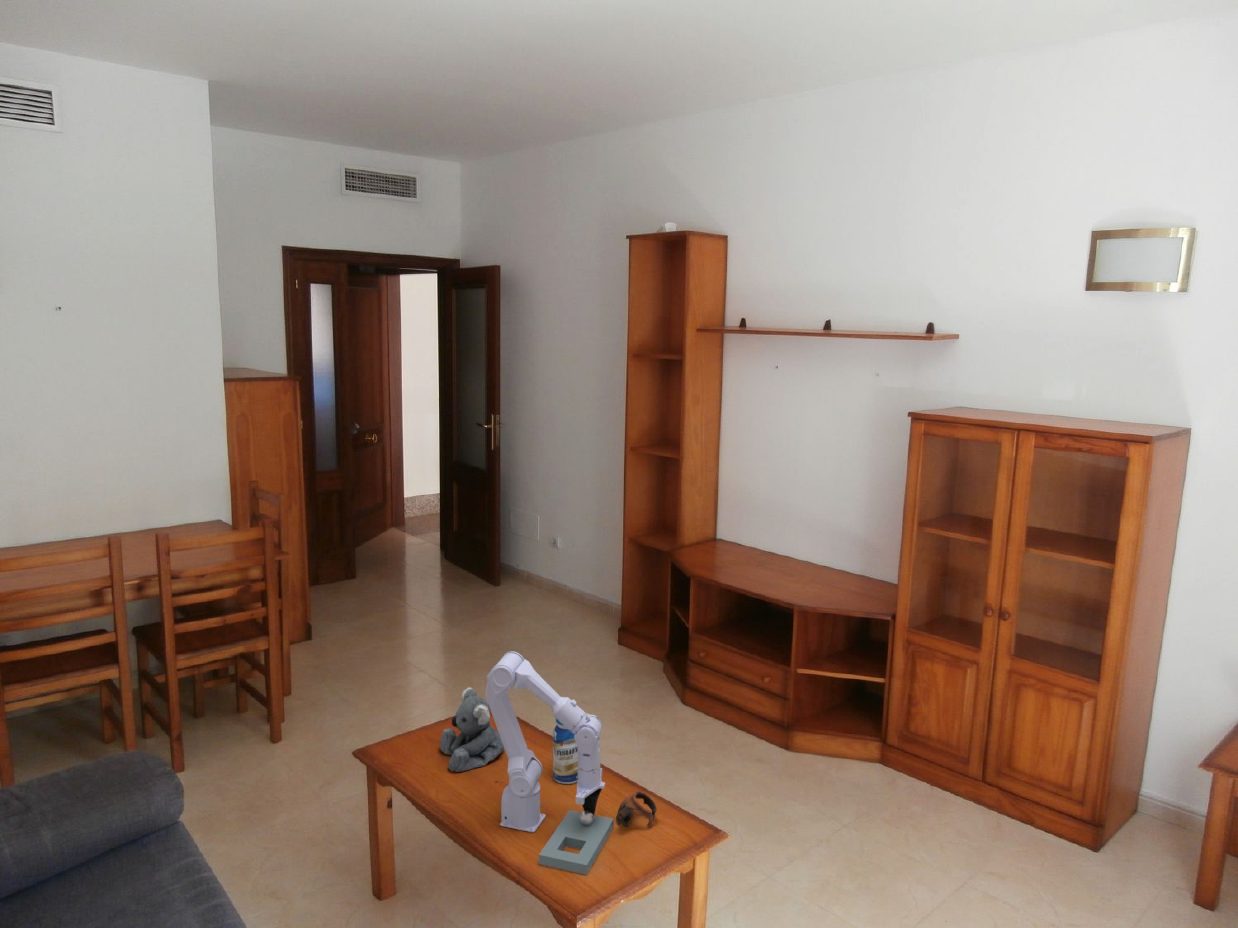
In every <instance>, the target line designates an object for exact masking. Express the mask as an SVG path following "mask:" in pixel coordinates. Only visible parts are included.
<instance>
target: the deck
mask: <svg viewBox="0 0 1238 928" xmlns="http://www.w3.org/2000/svg"><path fill="white" fill-rule="evenodd" d="M581 812H582V811H577V810H571V809H569V810H568V811H567V813H566V815H565V816H564V817H563V819H561V822H560V823H559V824H558V826H557V827H556V829H555V830H554V832H553V833H552V835H551V836H550V838H549V839H548V841H547V842H546V844H545V845H544V846H543V848H542V849H541V851H540V853H539V854H538V865H540V866H543V867H544V866H545V867H549V868H552V869H553V868H554V869H558V870H561V871H562V870H563V871H568V872H571V873H576V874H581V875H584V876H587V875H588V873H589V872H590V871H591V869H592V867H593V865H594V863H595V861H596V860H597V858H598V856H599V854H600V852H601V851H602V849H603V848H604V845H605V843H606V842H607V840H608V838H609V837H610V835H611V833H612V831H613V830H614V828H615V827H614V826H615V825H614V822H615V819H614V818H612V817H607V816H603V815H602V816H601V815H596V814H594V816H593V821H592V823H591V824H589V825H584V824H582V823H581V822H580V819H579V817H580V814H581ZM565 847H568V848H573V849H577V850H580V851H579V852H578V853H573V852H569V851H565V850H564V849H565Z"/></svg>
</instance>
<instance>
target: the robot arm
mask: <svg viewBox="0 0 1238 928" xmlns="http://www.w3.org/2000/svg"><path fill="white" fill-rule="evenodd" d="M486 678H487V682H486V687H485V692H484V695H485V699H486V702H487V704H488V706H489V710H490V714H491V715H492V718H493V720H494V723H495V726H496V728H497V729H496V730H497V732H499V735H500V737H501V740H502V743H503V746H504V751H505V753H506V756H507V759H508V760H507V761H508V762H507V763H508V764H507V775H508V778H509V779H508V785H507V786H505V787H504V789H503V791H502V795H501V803H500V804H501V805H500V807H501V808H500V809H501V811H500V812H501V821H500V824H499V826H500V827H501V826H502V827H505V828H510V829H513V830H514V829H515V830H519V831H525V832H529V833H535V832H536V831H537V829H538V828H539V827H540V825H541V824H542V823H543V822H544V820H545V819H546V818H547V817H546V816H547V815H546V814H545V813H541V785H540V782H539V778H540V777H541V776H542V774H543V765H542V763H541V761H540V760H539V759H538V758H537V757H536V755H535V753H534V751H533V750H531V749H528V746H527V742H526V740H525V737H524V735H523V732H522V728H521V726H520V724H519V721H518V718H517V715H516V712H515V710H514V708H513V705H512V702H511V700H510V699H511V698H510V697H509V690H510V688H511V687H512V686H513V685H514V687H513V690H521V689H522V690H525V689H527V690H529V692H531V693H532V694H533V695H535V696H536V697H537V698H539V699H540V700H541V701H542V702H544V704H546V705H548V706H549V707H550V708H551V712H552V716H553V717H554V718H555V720H556V719H558V720H559V721H560V722H561V723H562V724H563V725H564V726H565V727H566V728H568V729H569V730H570V731H571V732H572V733H573V734H575V736H574V739H575V741H576V743H577V744H578V749H577V755H578V781H577V782H576V795H575V804H576V805H582V808H583V809H582V810H583V811H584V810H589V811H591V812H592V814H593V816H594V815H596V809H597V804H598V800H599V797H600V794H601V792H602V790H603V789H604V788H605V786H606V782H604V781H602V776H603V768H602V767H601V741H600V740H601V737H600V736H601V733H602V730H603V724H602V720H600V719H599V717H598V716H597V715H595V714H590V713H588V712H585V711H584V710H583V708H581V707H579V705H577V701H576V699H573V698H572V699H571V698H570V697H568V696H566V697H564V696H560V695H559V693H558V692H557V691H555V690H554V689H553V688H552V686H551V685H550V684H549V683H547V681H546V680H545V679H543V677H542V676H541V675H540V674H539V673H538V672H537V671H536V670H535V668H534V667H533V666H532V664H531V663H530V661H529V660H527V659H525V658H524V657H523V655H521V654H520V653H518V652H517V651H507V652H506V653H504V655H502V657H501V658H500V660H499V661H498V662H497V664H495V665H494V666H492V668H491V670H490V671H489V673H488V674H487V676H486Z"/></svg>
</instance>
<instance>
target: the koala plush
mask: <svg viewBox="0 0 1238 928" xmlns="http://www.w3.org/2000/svg"><path fill="white" fill-rule="evenodd" d="M461 699H462V702H461V704H460V705H459V706H458V709H457V711H456V712H455V715H454V716H453V717H452V719H451V724H452V725H451V726H453V727H454V728H457V730H458V731H460V733H459V734H458V735H457V733H456V731H455V729H453V728H445V729H443V730H442V733H441V737H440V741H439V748H440V751H441V752H442V753H444V755H448V756H451V757H450V760H449V761H448V769H449V770H450V772H452V773H453V772H455V773H460V772H466V771H470V770H473V769H475V768H481V767H485V766H487V765H488V763H489V762H492V761H494V760H495V759H496V758H497V757H498V756H499V755H500V754H502V753H503V752H504V751H505V748H504V746H503V743H502V740H501V737H500V735H499V732H498V730H497V729H495V728H494V726H492V725H491V723H490V722H491V710H490V707H489V705H488V702H487V699H486V700H485V699H484V698H483V697H481V696H479V695H478V693H476V690H474V688H472V687H469V686H468V687H467V688H466V689H464V690H463V691H462V694H461Z"/></svg>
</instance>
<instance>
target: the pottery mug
mask: <svg viewBox="0 0 1238 928" xmlns="http://www.w3.org/2000/svg"><path fill="white" fill-rule="evenodd" d="M637 799H642V800H643V804H644V805H647V807H648V808H649V809H650V810H649V809H648V808H647V809H646V808H645V807H644V806H643V805H641V804H640V803H639V801H638V800H637ZM657 810H658V808H657V805H656V803H655V802H654V800H653V799H651V796H649V795H647V794H646V793H644V792H641V791H635V792H634V793H633V794H631V795H628V796H626V797H625V798H624V799H623V800H622V801H621V803H620V805H619V807H618V811H617V814H616V816H615V822H616V824H617V825H618V826H622V827H625V828H627V827H629V824H630V822H631V821H632V819H633V818H634V817H635V816H634V815H635V814H637V815H639V816H640V817H643V818H645V819H647V820H648V821H647V822H648V823H647V825H646V827H647V828H648V829H650V828H651V827H652V825H653V823H654V822H655V819H656V813H657ZM635 811H636V812H635Z"/></svg>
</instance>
